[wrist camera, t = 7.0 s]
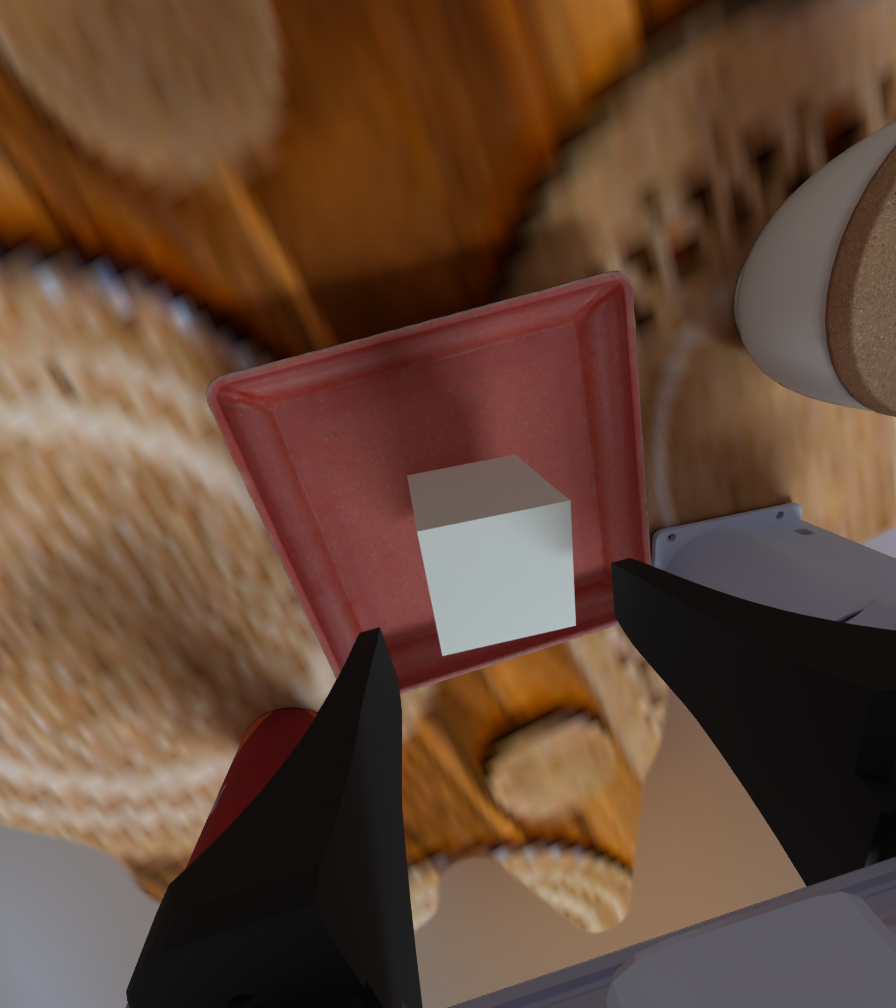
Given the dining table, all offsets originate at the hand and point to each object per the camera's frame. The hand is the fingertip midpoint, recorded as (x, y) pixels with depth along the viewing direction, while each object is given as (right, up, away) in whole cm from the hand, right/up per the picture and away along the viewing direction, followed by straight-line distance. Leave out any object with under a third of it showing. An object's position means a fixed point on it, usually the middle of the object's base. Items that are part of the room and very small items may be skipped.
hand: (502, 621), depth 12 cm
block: (-1, +3, +7) cm, 8 cm away
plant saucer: (-1, +4, +11) cm, 11 cm away
